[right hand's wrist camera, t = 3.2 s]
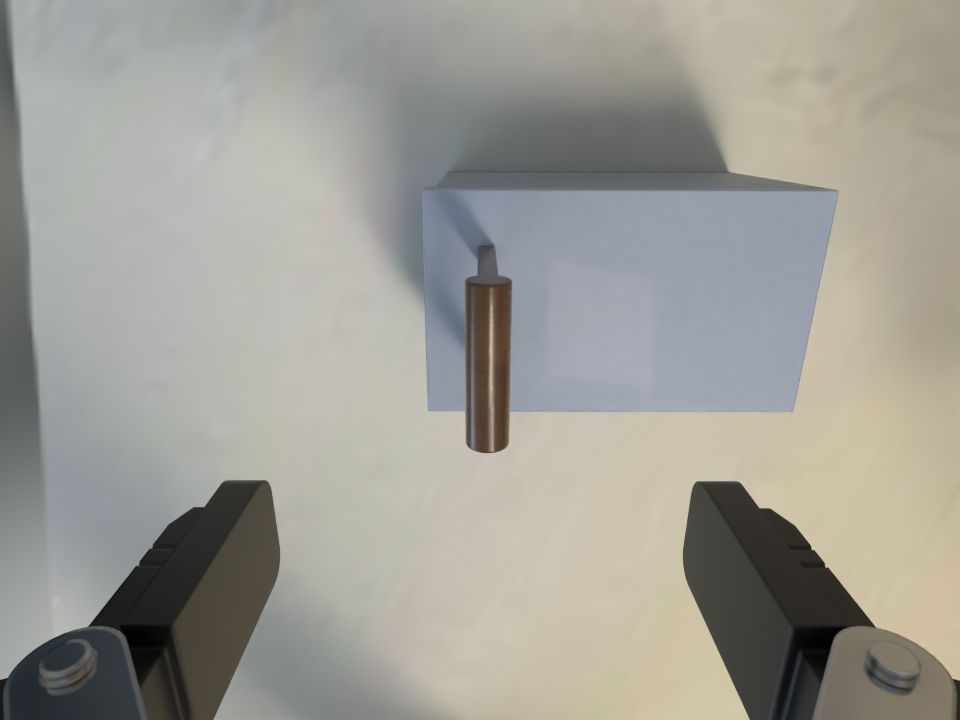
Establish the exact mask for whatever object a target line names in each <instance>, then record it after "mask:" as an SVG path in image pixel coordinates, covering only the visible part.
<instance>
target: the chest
mask: <svg viewBox="0 0 960 720" xmlns="http://www.w3.org/2000/svg"><path fill="white" fill-rule="evenodd" d="M436 188H808V189H825V188H821V187H815V186H808V185H802V184H796V183H790V182H784V181H778V180H772V179H766V178H760V177H754V176H748V175H742V174H736V173H730V172H448V173H447V174H446V175H445V177H444V178H443V179H442V180H441V182H440V183H439V184H438V186H437V187H436Z"/></svg>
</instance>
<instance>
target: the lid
mask: <svg viewBox="0 0 960 720" xmlns="http://www.w3.org/2000/svg"><path fill="white" fill-rule="evenodd" d="M838 193H839V191H838V190H833V189H808V188H423V189H422V190H421V201H422V233H423V265H424V296H425V328H426V360H427V392H428V411H466V444H467V446H468V447H469V448H470V449H472V450H474V451H477V452H481V453H494V452H499V451H501V450H503V449H505V448H506V447H507V445H508V443H509V412H510V411H538V412H793V409H794V405H795V400H796V395H797V390H798V385H799V381H800V376H801V371H802V366H803V361H804V357H805V352H806V347H807V342H808V337H809V332H810V328H811V323H812V318H813V313H814V308H815V304H816V299H817V294H818V289H819V284H820V280H821V275H822V270H823V265H824V260H825V256H826V251H827V246H828V241H829V236H830V232H831V227H832V222H833V217H834V212H835V208H836V203H837V198H838Z"/></svg>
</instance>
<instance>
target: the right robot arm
mask: <svg viewBox="0 0 960 720" xmlns="http://www.w3.org/2000/svg"><path fill="white" fill-rule="evenodd" d="M279 564H280V546H279V539H278V532H277V525H276V518H275V511H274V504H273V497H272V491H271V487H270V485H269V483H268V482H267V481H265V480H226V481H224V482H223V483H222V484H221V485H220V486H219V488H218V489H217V491H216V492H215V493H214V495H213V496H212V497H211V499H210V500H209V502H208V503H207V504H206V506H205V507H193V508H192V509H191V510H189V511H188V512H186V513H185V514H183V515H182V516H180V517H179V518H178V519H176V520H175V521H173V522H172V523H170V524H169V525H168V526H167V528H166V529H165V530H164V531H163V533H162V534H161V535H160V536H159V538H158V539H157V540H156V541H155V543H154V544H153V548H152V549H149V550H148V552H147V553H146V554H145V555H144V557H143V558H142V559H141V561H140V564H139V566H136V567H135V568H134V569H133V571H132V572H131V573H130V574H129V576H128V577H127V578H126V580H125V581H124V582H123V583H122V585H121V586H120V587H119V588H118V590H117V591H116V592H115V593H114V595H113V596H112V597H111V599H110V600H109V601H108V602H107V604H106V605H105V606H104V607H103V609H102V610H101V611H100V612H99V614H98V615H97V616H96V618H95V619H94V620H93V621H92V623H91V624H90V625H89V626H88V627H85V628H81V629H77V630H73V631H70V632H67V633H64V634H62V635H60V636H58V637H55V638H53V639H51V640H50V641H48V642H46V643H44V644H42V645H41V646H39V647H38V648H36V649H35V650H34V651H32V652H31V653H30V654H28V655H27V656H26V657H25V658H24V659H23V660H22V661H21V662H20V663H19V664H18V665H17V666H16V667H15V668H14V670H13V671H12V672H11V674H10V675H9V677H8V678H6V679H2V680H0V720H213V719H214V717H215V715H216V713H217V710H218V708H219V706H220V704H221V701H222V699H223V697H224V695H225V693H226V690H227V688H228V686H229V684H230V682H231V679H232V677H233V675H234V673H235V671H236V668H237V666H238V664H239V662H240V660H241V657H242V655H243V653H244V651H245V648H246V646H247V644H248V642H249V640H250V637H251V635H252V633H253V631H254V629H255V626H256V624H257V622H258V620H259V618H260V615H261V613H262V611H263V609H264V606H265V604H266V602H267V600H268V598H269V595H270V593H271V591H272V589H273V587H274V584H275V582H276V579H277V575H278V571H279ZM683 565H684V572H685V576H686V580H687V583H688V585H689V588H690V590H691V592H692V594H693V596H694V599H695V601H696V603H697V605H698V607H699V609H700V612H701V614H702V616H703V618H704V620H705V623H706V625H707V627H708V629H709V631H710V633H711V636H712V638H713V640H714V642H715V644H716V647H717V649H718V651H719V653H720V655H721V657H722V660H723V662H724V664H725V666H726V668H727V671H728V673H729V675H730V677H731V679H732V681H733V684H734V686H735V688H736V690H737V692H738V695H739V697H740V699H741V701H742V703H743V705H744V708H745V710H746V712H747V714H748V716H749V719H750V720H960V681H958V680H955V679H952V677H951V675H950V674H949V672H948V671H947V670H946V668H945V667H944V666H943V665H942V664H941V663H940V662H939V661H938V660H937V659H936V658H935V657H934V656H933V655H932V654H930V653H929V652H928V651H926V650H925V649H924V648H922V647H921V646H919V645H918V644H916V643H914V642H912V641H910V640H909V639H907V638H905V637H902V636H900V635H898V634H896V633H893V632H890V631H887V630H883V629H879V628H876V627H875V626H874V624H873V623H872V622H871V621H870V619H869V618H868V617H867V616H866V614H865V613H864V612H863V611H862V609H861V608H860V607H859V606H858V604H857V603H856V602H855V601H854V599H853V598H852V597H851V596H850V594H849V593H848V592H847V591H846V589H845V588H844V587H843V586H842V584H841V583H840V582H839V580H838V579H837V578H836V577H835V575H834V574H833V573H832V572H831V570H830V569H829V568H825V563H824V562H823V560H822V559H821V558H820V557H819V555H818V554H817V553H816V552H815V550H812V549H811V545H810V544H809V543H808V542H807V540H806V539H805V538H804V537H803V535H802V534H801V533H800V532H799V530H798V529H797V528H796V526H794V525H793V524H792V523H790V522H789V521H787V520H786V519H784V518H783V517H781V516H780V515H779V514H777V513H776V512H774V511H773V510H771V509H770V508H759V507H758V506H757V504H756V503H755V502H754V500H753V499H752V498H751V496H750V495H749V494H748V492H747V491H746V490H745V488H744V487H743V486H742V484H741V483H739V482H737V481H699V482H696V483H695V484H694V486H693V489H692V493H691V500H690V506H689V513H688V520H687V527H686V534H685V540H684V547H683Z"/></svg>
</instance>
